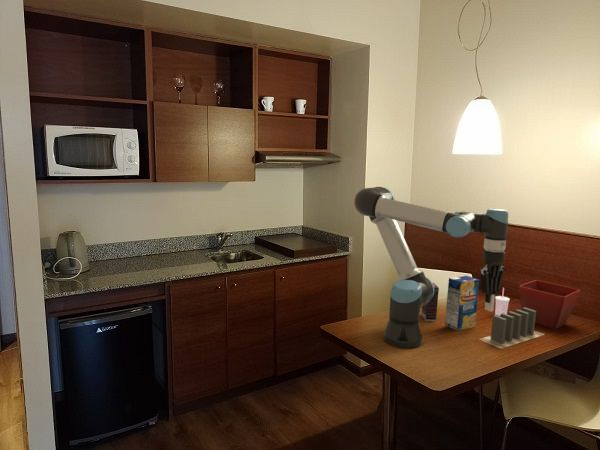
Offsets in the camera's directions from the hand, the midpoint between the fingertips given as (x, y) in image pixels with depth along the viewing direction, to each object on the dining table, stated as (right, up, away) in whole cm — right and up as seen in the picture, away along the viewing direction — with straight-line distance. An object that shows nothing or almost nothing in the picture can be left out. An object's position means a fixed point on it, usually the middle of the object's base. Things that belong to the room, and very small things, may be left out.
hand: (488, 310), depth 169 cm
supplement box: (-14, -10, +33) cm, 37 cm away
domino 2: (+10, -13, +9) cm, 19 cm away
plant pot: (+39, -12, +31) cm, 51 cm away
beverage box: (-3, -12, +22) cm, 25 cm away
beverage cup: (+22, -11, +38) cm, 45 cm away
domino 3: (+15, -13, +12) cm, 23 cm away
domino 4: (+19, -13, +14) cm, 27 cm away
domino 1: (+6, -14, +6) cm, 16 cm away
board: (+15, -14, +12) cm, 23 cm away
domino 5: (+23, -13, +17) cm, 31 cm away
